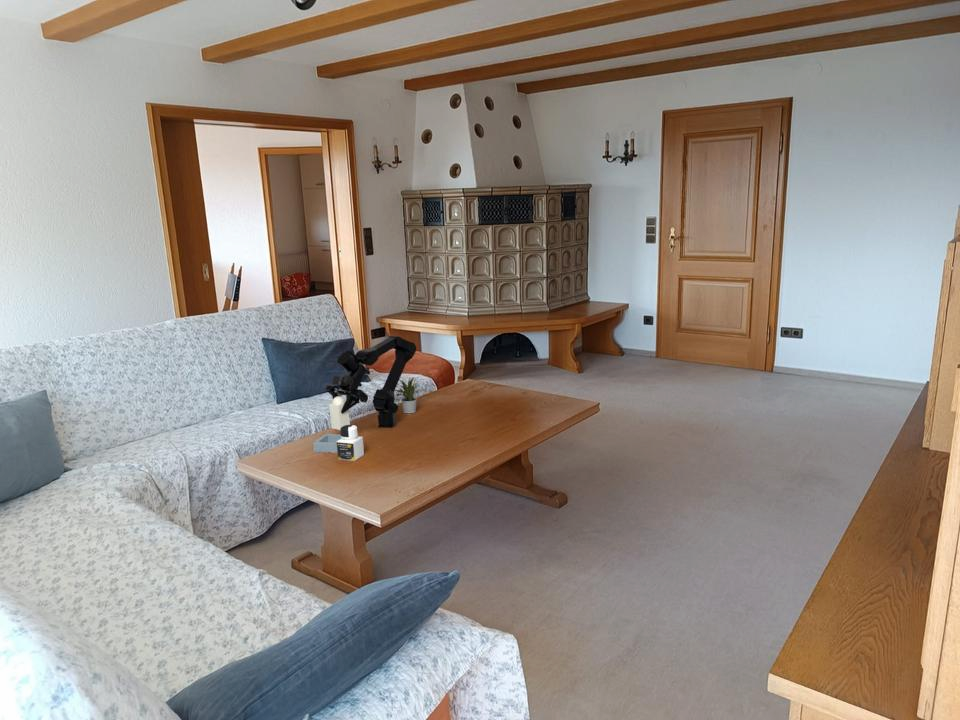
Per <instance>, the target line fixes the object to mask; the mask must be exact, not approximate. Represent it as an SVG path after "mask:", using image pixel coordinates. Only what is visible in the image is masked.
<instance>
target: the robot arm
mask: <svg viewBox="0 0 960 720" xmlns="http://www.w3.org/2000/svg"><path fill="white" fill-rule="evenodd" d="M392 349H394V350H395V351H394V353H395V355H394V356H395V359H394V362H393V364H392V366H391V369H390V371H389V373H388V375H387V378H386V379H385V382H384V385H383V386H382V388H380V389H379V388H377V389H376V390H375V391H374V395H373V396H372V398H373V399H372V404H373V405H372V406H373V408H374V410H375V412H378V415H377V421H378V422H377V423H378V426H377V427H378V428H393V426H394V427H395V426H396V425H397V424H398V421H397V420H396V414H397V412H399V405H398V404H396V403H395V400H396V398H395V392H396V391H395V390H396V388H397V386H398V385H399V384H398V383H399V382H400V380H401V376H402V373H403V372H404V370H405V367H406V364H407V363H408V362H409V361H410V360H411V359H413V357H414V355H415V354H416V352H417V346H416V344H415V342H414V341H409V340H407V339H404V338H402V337H401V336H399V335H389V336H388V338H385V339H384V340H382V341H381V342H378V344H376V345H373V346H372V347H367V348H363V349H359V350H358V351H357V352H356V353H353V352H352V351H351V350H349V349H346V350H345V352H343V353H341V354H340V355H339V356H338V358H337V364H338V365H340V366H341V368H343V370H345V371H346V372H348V375H344V376H343V377H342V376H337V375H333V377H332V378H333V379H332V382H331V384H328V385H326V388H325V389H324V390H325V391H326V393H328V394H330V396H331V397H332V400H331V402H332V401H333V399H334V398H335V397H337V396H340V397H342V396H345V397H346V399H345V403H344V405H343V408H342V410H341V413H342V414H343V413H345V412H346V411H347V410H349V411H350V409H351V408H352V407H354V406H356V405H358V404H360V403H365V404H366V403H367V402H368V400H369V396H368V394H367V393H366V392H365V391H364V390H363V389H359V388H361V387H363V384H362V381H363V379H364V377H365V376H366V375H369V376H370V375H371V372H370V368H369V367H365V366H373V365H374V364H375V363H377V362H378V360H379V357H381V356H383V355H384V354H386V353H388V352H390V351H391V350H392ZM337 385H338V386H337Z"/></svg>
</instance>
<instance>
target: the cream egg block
mask: <svg viewBox="0 0 960 720" xmlns="http://www.w3.org/2000/svg"><path fill="white" fill-rule="evenodd" d="M332 400H333V401H332ZM332 400H331V403H329V412H330V413H329V414H330V423H331V424H330V425H331V429H334V430H338V431H341V430H340V429H341V427H343V426H345V425H351V422H350V421H351V420H350V412H349V411H350V409H349V410H347V411H346V412H345V413H343V414H342V413H341V410H342V408H343V405H344V403H345V401H346V399H344V398H343V397H342V396H341V397H340V396H337V397H335V398H334V399H333V398H332Z"/></svg>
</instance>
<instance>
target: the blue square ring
mask: <svg viewBox="0 0 960 720" xmlns="http://www.w3.org/2000/svg"><path fill="white" fill-rule="evenodd" d="M340 439H341V433H340V434H339V433H324V434H323V435H322V436H321V437H319V438H318V439H317V440H314V442H312V448H313V449H312V450H313V453H328V452H331V453H335V454H338V453H337V441H338V440H340Z"/></svg>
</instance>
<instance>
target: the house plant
mask: <svg viewBox="0 0 960 720" xmlns="http://www.w3.org/2000/svg"><path fill="white" fill-rule="evenodd" d="M414 378H415V376H413V377H412V378H410V377H409V378H408V381H407V383H406V382H404V380H401V379H399V382H400V383H401V385H400V384H399V385H398V387H399V388H398V389H395V391H394V392H395V393H397V394H396V395H395V394H394V396H396V397H399V396H401V395H402V398H401V400H400V401H401V405H402V410H403V413H404V414H405V413H414V412H415V413H416V410H417V409H416V408H417V401H418V398H417V397H415V395H416V393H418V392H419V391H422V392H423V390H422V389H421V390H420V389H419V390H417V391H415V390H416V388H417V387H418V385H419V384H418V381H416V380H414ZM415 413H414V414H415Z"/></svg>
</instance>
